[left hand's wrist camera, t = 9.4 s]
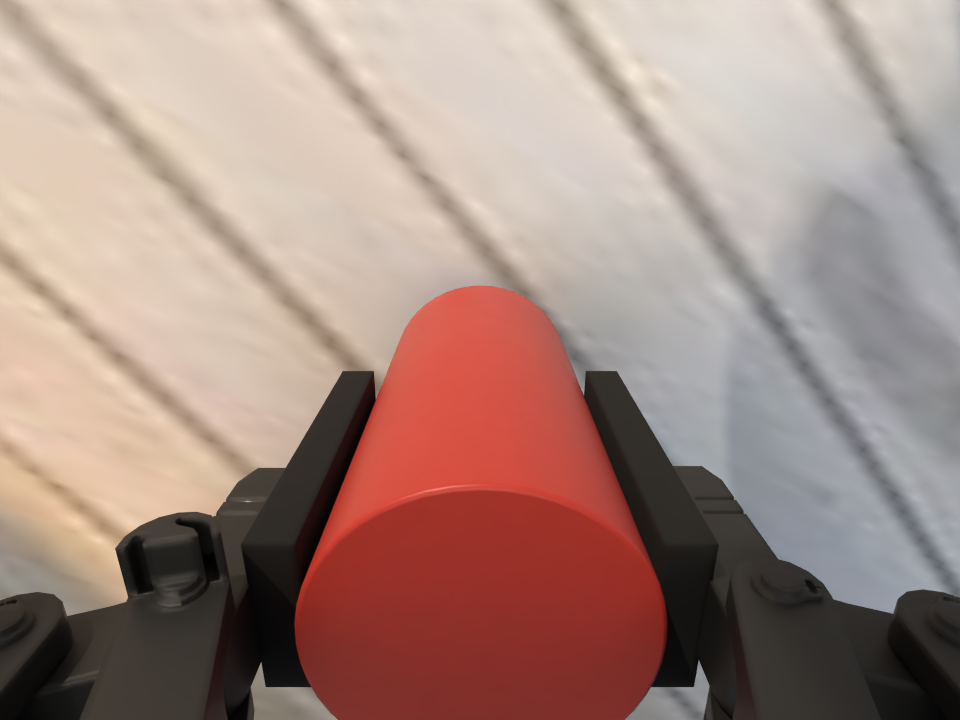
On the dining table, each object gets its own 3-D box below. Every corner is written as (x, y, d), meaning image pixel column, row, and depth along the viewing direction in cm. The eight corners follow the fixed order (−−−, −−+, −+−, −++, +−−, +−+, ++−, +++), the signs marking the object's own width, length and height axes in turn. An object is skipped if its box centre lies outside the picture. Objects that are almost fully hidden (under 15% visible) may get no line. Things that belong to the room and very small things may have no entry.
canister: (593, 322, 17) (741, 563, 8) (524, 463, 19) (570, 808, 9) (430, 258, 17) (359, 428, 7) (373, 409, 18) (251, 719, 9)
